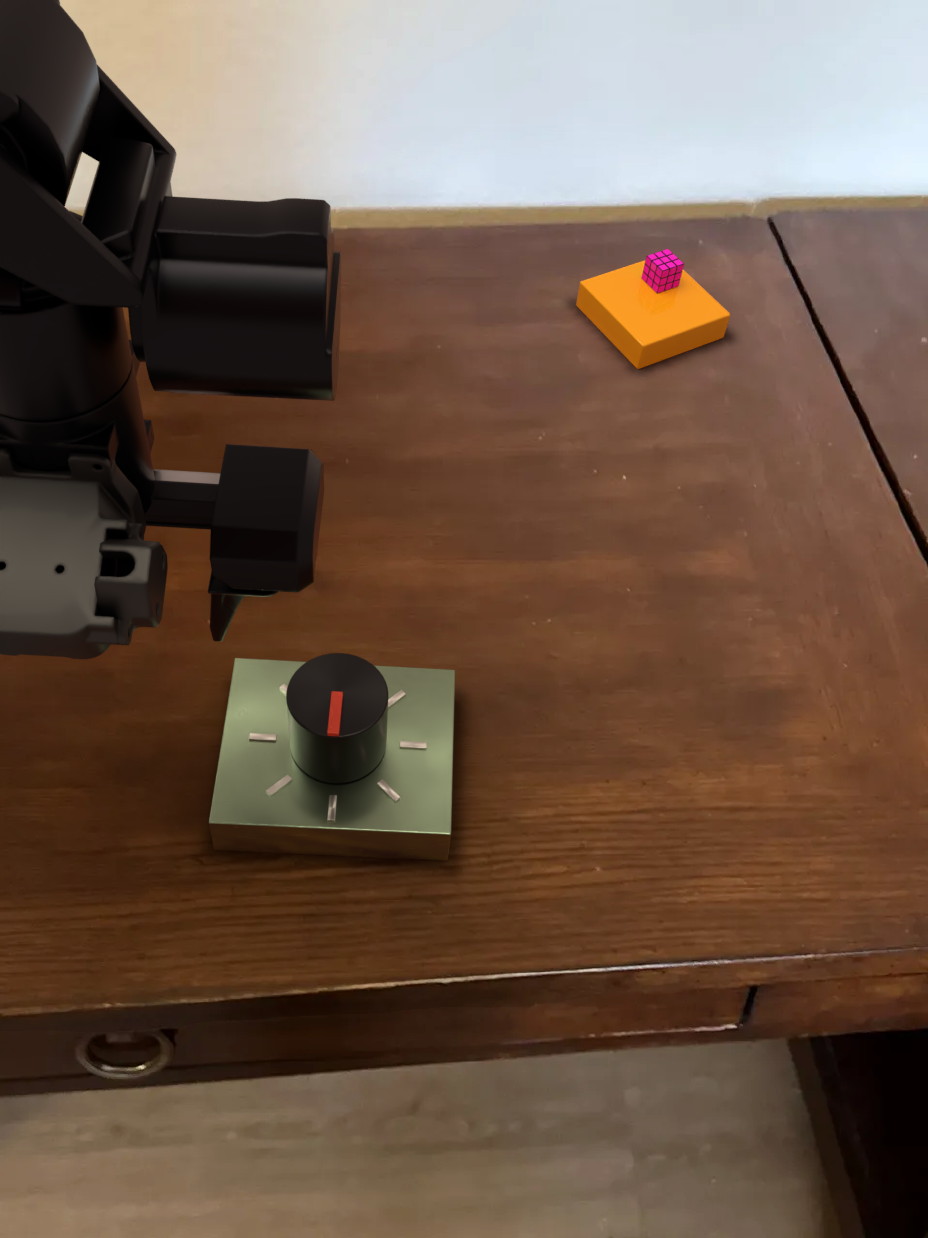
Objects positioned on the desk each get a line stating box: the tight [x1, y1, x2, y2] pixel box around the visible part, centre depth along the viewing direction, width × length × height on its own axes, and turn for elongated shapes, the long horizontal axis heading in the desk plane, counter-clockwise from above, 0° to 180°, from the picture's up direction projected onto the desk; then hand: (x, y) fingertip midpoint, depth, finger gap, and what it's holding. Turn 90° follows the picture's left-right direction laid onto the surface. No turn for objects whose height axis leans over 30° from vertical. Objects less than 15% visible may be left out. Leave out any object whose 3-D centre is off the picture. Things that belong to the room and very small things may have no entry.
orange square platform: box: [575, 248, 731, 370], centre depth 89 cm, size 8×8×4 cm
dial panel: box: [208, 657, 456, 862], centre depth 64 cm, size 12×10×3 cm
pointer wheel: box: [286, 652, 388, 783], centre depth 61 cm, size 5×5×5 cm
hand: (117, 628), depth 55 cm, fingers open, 9 cm apart
